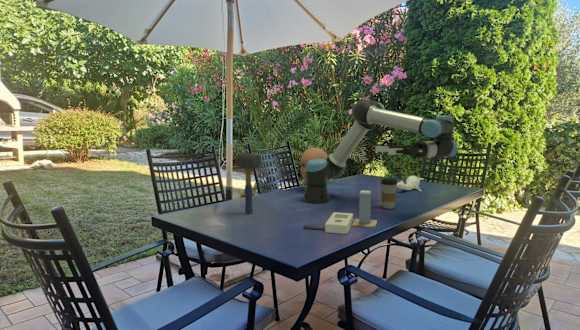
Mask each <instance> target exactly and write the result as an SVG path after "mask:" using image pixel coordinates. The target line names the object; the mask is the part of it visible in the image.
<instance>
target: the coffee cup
mask: <svg viewBox="0 0 580 330" xmlns="http://www.w3.org/2000/svg"><path fill="white" fill-rule="evenodd" d="M397 183H398V181H397V179H396V178H389V177H384V178H382V179H381V181H380V185H381V186H380V187H381V188H380V189H381V190H380V191H381V206H382V208H383V209H387V210H389V209H390V210H391V209H395V205H396V199H397V198H396V197H397V188H398V187H397Z"/></svg>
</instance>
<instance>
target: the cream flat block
mask: <svg viewBox="0 0 580 330" xmlns="http://www.w3.org/2000/svg"><path fill="white" fill-rule="evenodd" d="M353 222H354V213H350V212H335V211H334V212H332V214H331V215H330V217H329V218H328V220H327V221H326V222H325V224H324V226H314V225H303V226H302V228H303V229H308V230H319V231H320V230H321V231H324V233H326V234H327V233H329V234H330V233H331V234H341V235H342V234H343V235H348V233H349V231H350V228H351V227H352V224H353Z"/></svg>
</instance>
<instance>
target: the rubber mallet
mask: <svg viewBox="0 0 580 330" xmlns="http://www.w3.org/2000/svg"><path fill="white" fill-rule="evenodd" d="M234 164H235V165H236V167H238V168H241V169H245V185H244V200H245V207H244V212H245V214H247V215H248V214H252V213H253V211H254V210H253V209H254V208H253V186H252V175H251V174H252V173H251V172H252V171H251V170H252V169H254V170H256V169H258V168H260V166H261V165H262V158H261V156H260V155H259V154H256V153H255V154H254V153H248V152H247V153H245V152H241V153H238V154H236V156H235V157H234Z"/></svg>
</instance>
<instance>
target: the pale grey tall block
mask: <svg viewBox="0 0 580 330" xmlns="http://www.w3.org/2000/svg"><path fill="white" fill-rule="evenodd" d="M371 202H372V192H371V190H364V189H363V190H360V192H359V209H358V210H359V211H358V212H359V216H358V219H359V223H360V224H370V220H371V210H372V209H371V207H372V206H371V204H372V203H371Z"/></svg>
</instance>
